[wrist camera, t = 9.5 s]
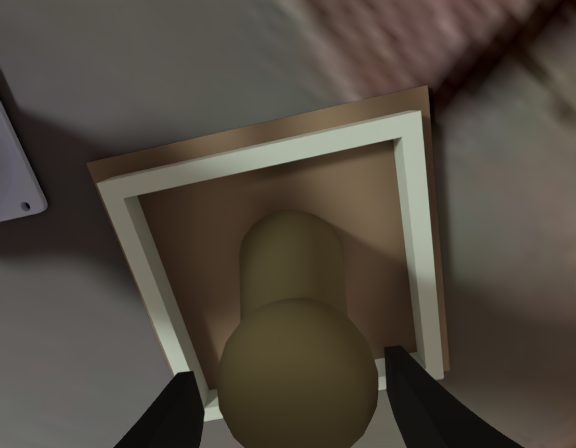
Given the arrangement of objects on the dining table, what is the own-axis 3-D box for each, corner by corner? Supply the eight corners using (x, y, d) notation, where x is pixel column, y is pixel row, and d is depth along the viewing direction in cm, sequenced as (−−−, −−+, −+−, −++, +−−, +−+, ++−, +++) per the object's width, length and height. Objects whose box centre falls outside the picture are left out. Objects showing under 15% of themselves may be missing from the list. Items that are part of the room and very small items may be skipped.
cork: (290, 187, 19) (299, 289, 8) (363, 258, 20) (451, 421, 10) (217, 260, 20) (145, 428, 10) (291, 321, 21) (299, 526, 11)
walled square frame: (199, 403, 23) (194, 423, 22) (111, 177, 18) (96, 183, 17) (433, 361, 22) (443, 378, 21) (409, 110, 17) (420, 110, 16)
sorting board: (191, 412, 24) (189, 417, 24) (89, 161, 18) (85, 163, 18) (447, 366, 23) (450, 370, 23) (424, 85, 17) (427, 85, 17)
